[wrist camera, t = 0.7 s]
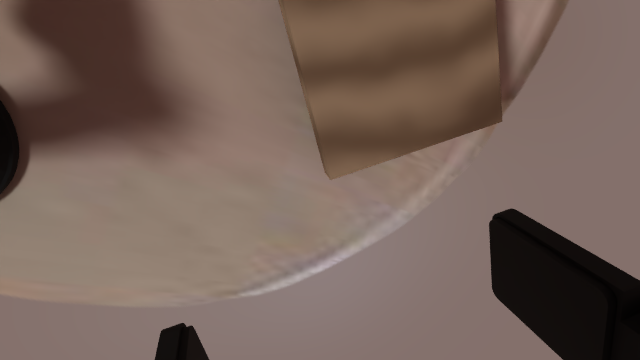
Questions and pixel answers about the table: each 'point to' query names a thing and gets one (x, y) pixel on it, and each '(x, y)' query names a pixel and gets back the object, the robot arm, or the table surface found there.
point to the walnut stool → (393, 74)
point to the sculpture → (7, 148)
